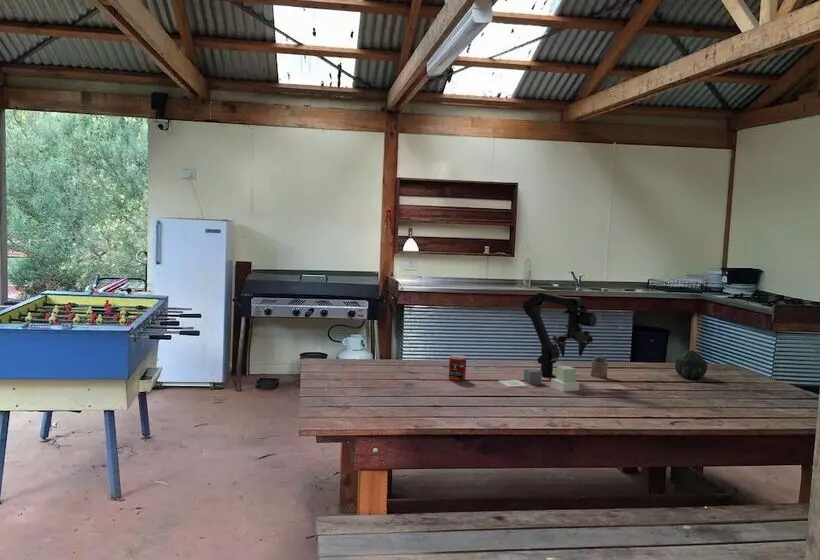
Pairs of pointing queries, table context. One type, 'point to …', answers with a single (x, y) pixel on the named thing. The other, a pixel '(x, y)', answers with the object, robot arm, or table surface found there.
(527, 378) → the charcoal block
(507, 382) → the tile
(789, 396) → the table surface
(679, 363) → the squash
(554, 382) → the base block
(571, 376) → the sage block
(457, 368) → the canned food
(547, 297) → the robot arm
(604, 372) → the lighter
